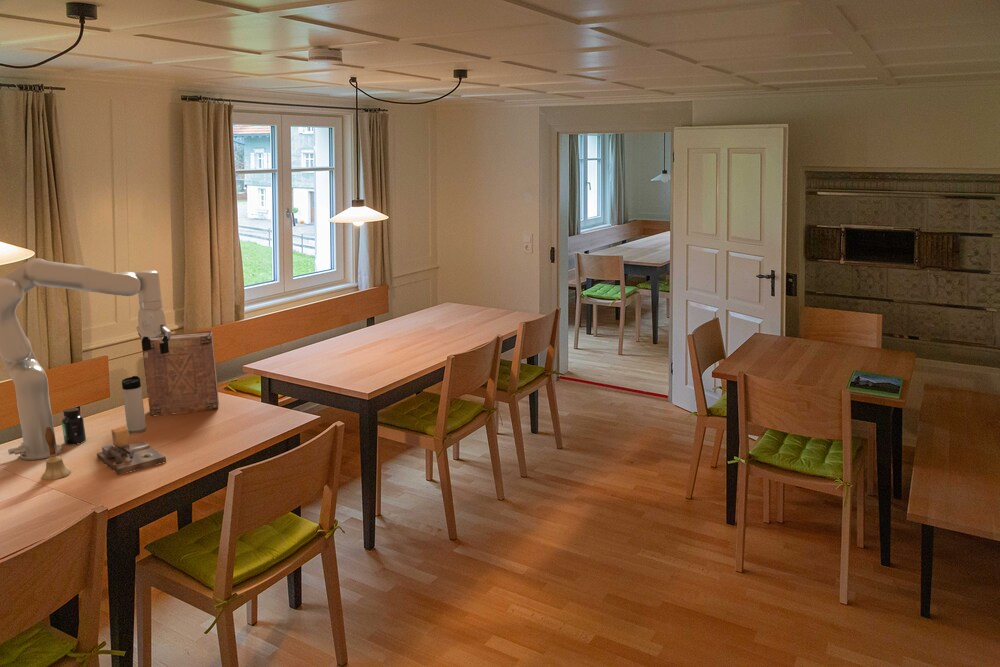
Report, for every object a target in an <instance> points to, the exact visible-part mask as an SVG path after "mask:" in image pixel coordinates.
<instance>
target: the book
mask: <svg viewBox="0 0 1000 667" xmlns="http://www.w3.org/2000/svg"><path fill="white" fill-rule="evenodd" d="M148 339H150V343H151V350H147V351H143V349H142V348H141V349H142V351H141V352H142V358H143V367H144V374H145V382H146V390H147V391H146V392H147V400H148V408H149V416H151V417H155V416H154V415H159V416H164V415H163V414H168V415H174V414H173V413H177V414H184V413H185V412H187V413H195V412H203V411H204V410H206V411H214V410H219V405H220V400H219V399H220V398H219V397H220V396H219V390H218V377H217V370H216V369H217V367H216V358H215V357H216V356H215V355H216V354H215V348H214V347H215V346H214V332H213V331H212V330H206V331H194V332H179V333H178V332H177V333H171V335H170V339H169V342H168V347H169V352H168V353H165V354H161V353H160V345H159V343H161V342H160V341H159V339H158V338H150V337H149V338H148ZM162 339H163V337H162ZM140 342H141V344H142V341H140ZM185 414H186V413H185Z"/></svg>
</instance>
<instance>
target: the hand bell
mask: <svg viewBox="0 0 1000 667" xmlns="http://www.w3.org/2000/svg"><path fill="white" fill-rule="evenodd" d="M54 432H55V431H54ZM54 432H53V430H52V429H51V427H47V428H46V433H45V438H46V441H47V444H48V445H49V450H50V457H48V458H46V460H45V465H46V466H45V470H44V472H43V473H42V476H41V479H43V480H45V481H47V480H50V481H51V480H59V479H62V477H63V478H65V477H67V476H70V474H71V473H72V470H71V469H70V468H68V466H66V465H65V463H64V460H63V458H62V456H58V454H57V455H56V452H55V446H54V445H55V439H56V434H55V435H54Z"/></svg>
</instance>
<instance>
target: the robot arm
mask: <svg viewBox="0 0 1000 667" xmlns="http://www.w3.org/2000/svg"><path fill="white" fill-rule="evenodd" d="M37 286H40V287H47V288H56V289H67V290H68V289H69V290H73V291H74V290H75V291H82V292H86V293H88V292H89V293H100V294H104V295H105V294H106V295H114V296H122V297H133V296H135V295H137V297H138V298H137V299H138V305H139V306H138V307H139V308H138V313H137V322H138V323H137V324H138V326H136V331H137V334H138V336H139V339H140V341H141V342H142V343H141V349H143V351H147V350H151V343H150V339H148V338H149V337H150V338H158V339H159V341H160V342H161V343H159V345H160V353H161V354H165V353H168V352H169V347H168V342H169V339H170V335H171V334H172V332H171V330H170V329H168V328H167V322H166V316H165V313H164V309H163V302H162V292H161V291H162V290H161V281H160V274H159V272H158V271H156V270H149V269H148V270H147V269H146V270H141V271H120V272H112V271H111V272H110V271H105V270H99V269H96V268H93V267H91V266H86V265H82V264H81V265H80V264H73V263H65V262H59V261H50V260H45V259H43V258H39V257H38V258H37V257H35V258H32V259H29V260H27V261H25V263H23V264H21V265H20V266H19V265H18V267H16V268H15V269H13V270H11V271H9V272H8V273H6V274H4V275H2V276H1V277H0V359H1V360H2V362H3V365H4V367H5V369H6V371H7V373H8V374H9V377H10V379H11V380H12V382H13V385H14V388H15V396H16V397H15V398H16V404H17V405H16V406H17V411H18V416H19V423H20V429H21V435H22V442H20V445H18V446H17V447H12V448H11V447H10V448H8V449H7V452H8V455H16V456H17V455H19V457H20V459H22V460H26V461H35V460H43V459H49V458H50V450H49V445H48V444H47V441H46V438H45V433H46V428H47V427H51V429H52V430H53V432H54V435H55V436H56V433H55V428H54V420H53V413H52V407H51V406H52V405H51V400H50V394H49V393H50V392H49V390H50V389H49V380H48V376H47V373H46V370H44V368H43V367H42V366H41V365H40V363H39V360H38V358H37V356H36V355H35V353H34V350H33V348H32V343H31V341H30V339H29V338H28V337H27V335H26V334H25V331H24V330H23V328H22V325H21V323H20V320H19V318H18V316H17V308H18V306H20V304H21V303H22V302H23V301H24V299H25V295H26V294H27V293H28V292H30V291H31V290H33V289H35V288H36V287H37ZM162 337H163V339H162ZM143 351H142V352H143ZM56 440H57V439H56V438H55V445H54V446H55V452H56V454H57V455H59V454H60V453H61V452H63V447H62V445H60V444H58V443H57V441H56Z"/></svg>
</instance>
